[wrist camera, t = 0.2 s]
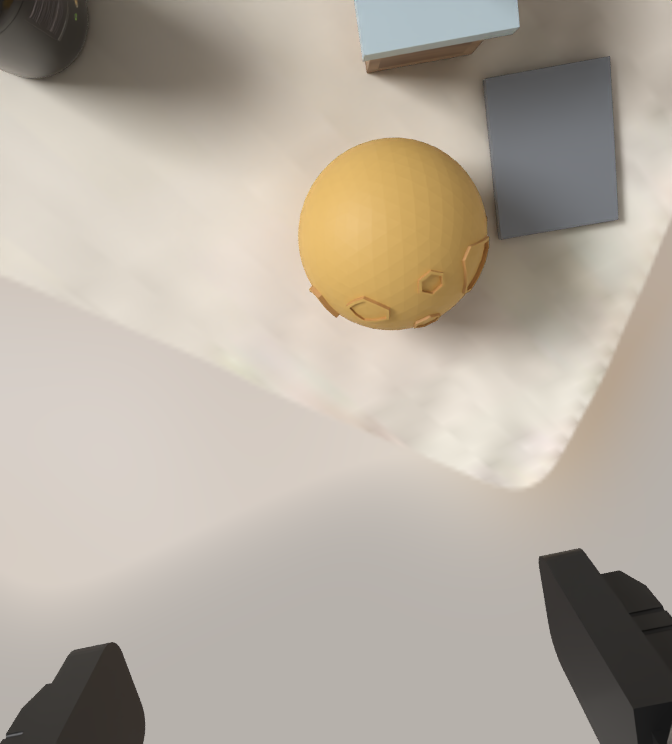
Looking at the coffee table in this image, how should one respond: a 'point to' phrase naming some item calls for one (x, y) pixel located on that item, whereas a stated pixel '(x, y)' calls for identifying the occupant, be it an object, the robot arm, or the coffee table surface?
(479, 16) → the lid
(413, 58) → the walnut box
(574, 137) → the slate mat
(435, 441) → the coffee table surface
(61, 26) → the supplement bottle
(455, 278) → the stress ball
